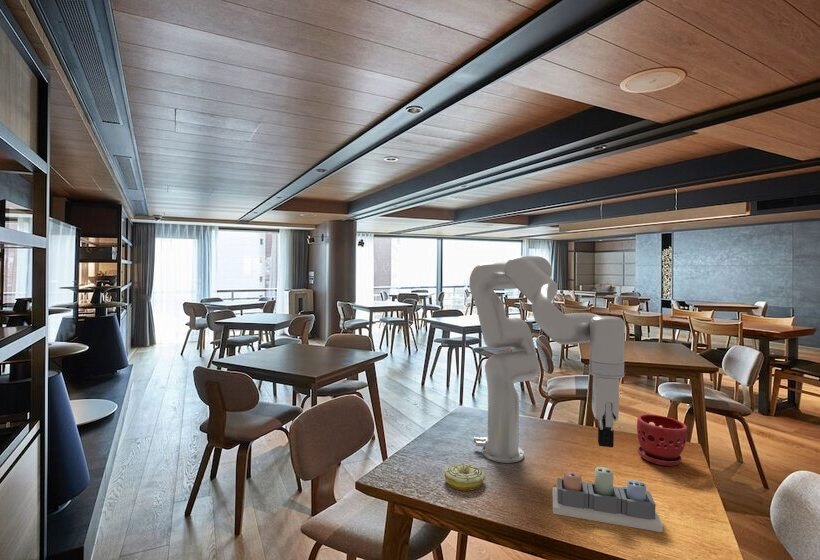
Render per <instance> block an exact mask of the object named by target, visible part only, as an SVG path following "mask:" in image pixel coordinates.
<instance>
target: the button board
mask: <svg viewBox="0 0 820 560" xmlns="http://www.w3.org/2000/svg"><path fill="white" fill-rule="evenodd" d="M556 481H557V485H556V486H552V514H553V515H559V516H565V517H571V518H576V519H583V520H589V521H595V522H600V523H607V524H612V525H617V526H623V527H631V528H634V529H635V528H636V529H640V530H647V531H652V532H658V533H664V525H663V522H662V520H661V518H660V516H659V513H658V511H657V509H656V502H655V500H654V498H653V496H652V494H651V491H648V490H646V502H644V501H638V500H632V499H627V486H615V485H613V495H611V496H606V495H600V494H598V493H596V492H595V481H592V482H587V481H583V480H581V492H580V491H574V490H567V489H564V477H561V478H560V477H557V480H556Z"/></svg>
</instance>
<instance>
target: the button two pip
mask: <svg viewBox="0 0 820 560" xmlns="http://www.w3.org/2000/svg"><path fill="white" fill-rule="evenodd" d="M594 482H595V492H596V493H598V494H600V495H606V496H611V495H613V486H614V471H613V470H612V469H610V468H608V467H603V466H597V467H595V469H594Z"/></svg>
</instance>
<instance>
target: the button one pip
mask: <svg viewBox="0 0 820 560" xmlns="http://www.w3.org/2000/svg"><path fill="white" fill-rule="evenodd" d="M563 478H564V489H567V490H574V491H580V492H581V481H582V475H581V474H580V473H579V472H577V471H572V470H568V471H565V472H563Z"/></svg>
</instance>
